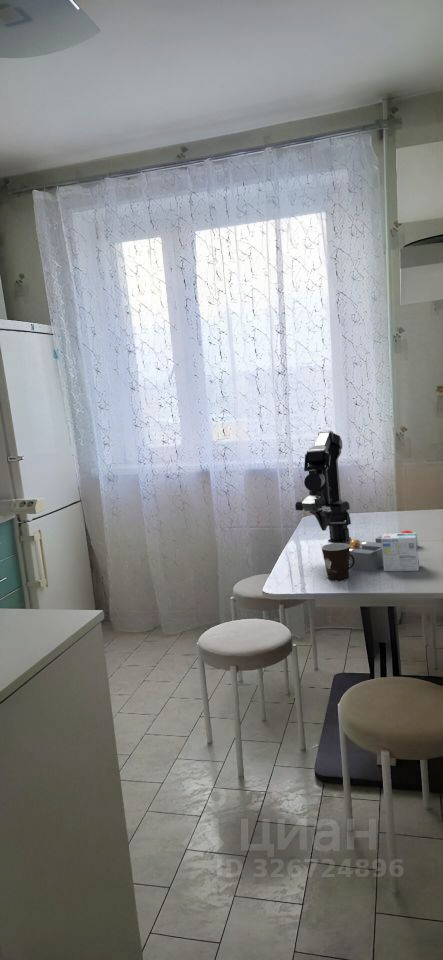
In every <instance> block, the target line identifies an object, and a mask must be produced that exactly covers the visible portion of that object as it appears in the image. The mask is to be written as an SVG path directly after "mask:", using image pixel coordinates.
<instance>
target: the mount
mask: <svg viewBox="0 0 443 960" xmlns="http://www.w3.org/2000/svg"><path fill="white" fill-rule="evenodd" d="M382 536H383V535H380V536H378V537H376V538H375V542H373V541H368V543H366V544H363V545H362V549H353V550H351V551H350V554H351V555H353V557H354V560H355V563H354V565H353V567H352V568H351V569H353V570H354V569H355V570H362V571H369V572H373V571H374V570H376V569H378V568H380V567H383V555H382V544H381V538H382ZM352 563H353V560H352V558H351V556H350V557H349V567H350V566H351V565H352ZM351 569H350V570H351Z"/></svg>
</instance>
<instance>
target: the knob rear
mask: <svg viewBox="0 0 443 960" xmlns="http://www.w3.org/2000/svg"><path fill="white" fill-rule="evenodd" d="M368 542H369V541H368ZM368 542H367V541H360V540H359V539H350V541H349V545H350V549H362V545H363V544H366V543H368Z"/></svg>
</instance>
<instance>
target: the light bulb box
mask: <svg viewBox="0 0 443 960" xmlns="http://www.w3.org/2000/svg"><path fill="white" fill-rule="evenodd" d="M381 536H382V538H381V544H382V555H383V565H382V567H383V572H407V571H408V572H415V571H416V572H418V571H419V568H420V557H419V545H418V543H419V542H418V534H417V532H413V533H401V532H400V533H397V532H396V533H383V534H382V535H381Z"/></svg>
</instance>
